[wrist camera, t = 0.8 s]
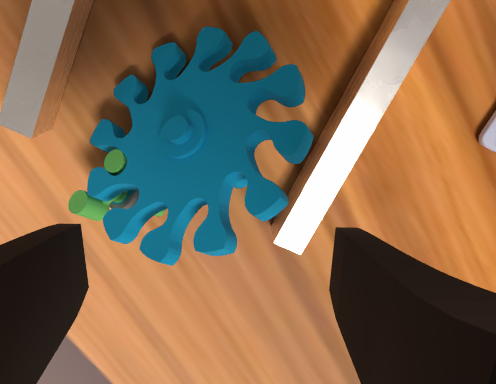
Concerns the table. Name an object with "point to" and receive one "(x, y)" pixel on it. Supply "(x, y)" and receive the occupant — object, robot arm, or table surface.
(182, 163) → the gear
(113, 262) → the table surface
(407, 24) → the rail dock
